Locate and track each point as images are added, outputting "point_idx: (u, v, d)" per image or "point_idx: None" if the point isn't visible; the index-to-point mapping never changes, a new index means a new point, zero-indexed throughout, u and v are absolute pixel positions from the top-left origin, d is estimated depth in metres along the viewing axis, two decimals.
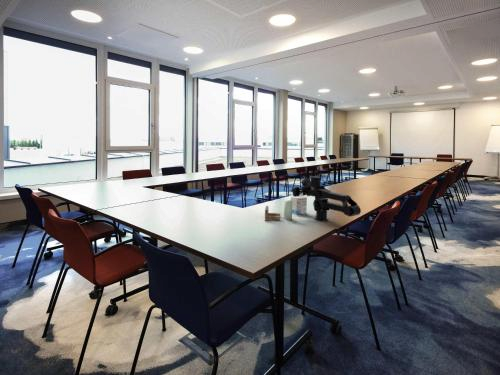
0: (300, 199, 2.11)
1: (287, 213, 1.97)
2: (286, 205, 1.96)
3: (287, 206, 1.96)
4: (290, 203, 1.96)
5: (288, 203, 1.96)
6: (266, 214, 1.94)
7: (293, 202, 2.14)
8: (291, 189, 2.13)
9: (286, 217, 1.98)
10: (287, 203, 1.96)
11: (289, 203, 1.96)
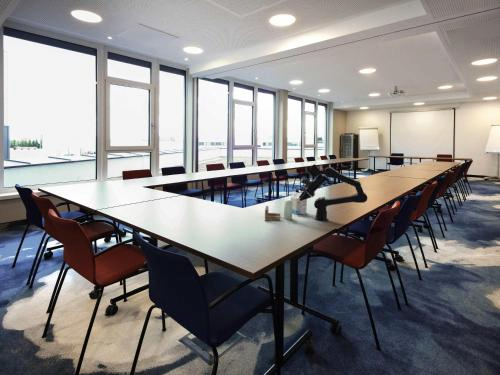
0: None
1: (287, 213, 1.97)
2: (286, 205, 1.96)
3: (287, 206, 1.96)
4: (290, 203, 1.96)
5: (288, 203, 1.96)
6: (266, 214, 1.94)
7: (293, 202, 2.14)
8: (300, 199, 1.92)
9: (286, 217, 1.98)
10: (287, 203, 1.96)
11: (289, 203, 1.96)
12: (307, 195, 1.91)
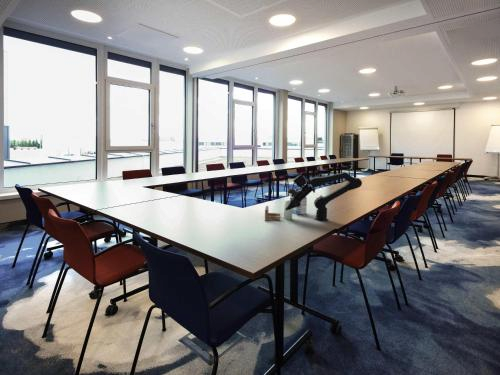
0: None
1: (287, 213, 1.97)
2: (286, 205, 1.96)
3: (287, 206, 1.96)
4: None
5: (288, 203, 1.96)
6: (266, 214, 1.94)
7: None
8: (286, 208, 1.96)
9: (286, 217, 1.98)
10: (287, 203, 1.96)
11: (289, 203, 1.96)
12: (293, 204, 1.94)
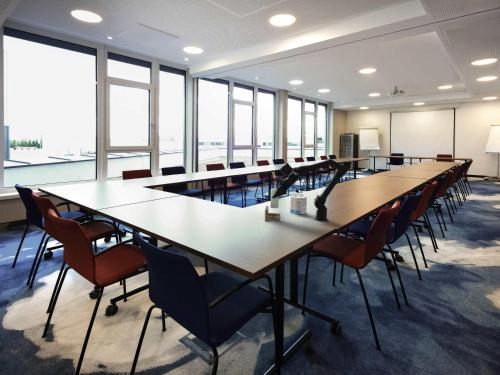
0: (300, 199, 2.11)
1: (273, 201, 1.97)
2: (272, 193, 1.96)
3: (273, 194, 1.96)
4: None
5: (274, 191, 1.96)
6: (266, 214, 1.94)
7: (293, 202, 2.14)
8: None
9: (272, 205, 1.97)
10: (273, 191, 1.96)
11: (275, 191, 1.96)
12: (279, 193, 1.94)
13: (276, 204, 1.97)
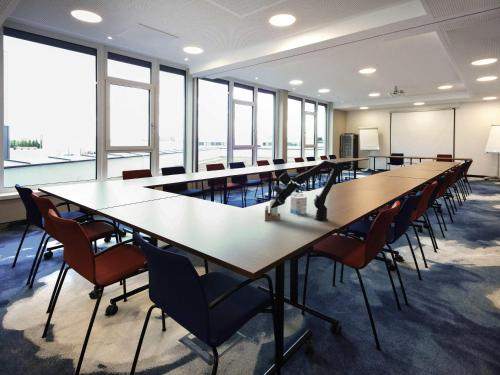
0: (300, 199, 2.11)
1: (272, 212, 1.98)
2: (271, 205, 1.97)
3: None
4: None
5: None
6: (266, 214, 1.94)
7: (293, 202, 2.14)
8: (271, 206, 1.95)
9: None
10: (272, 203, 1.97)
11: None
12: (278, 202, 1.93)
13: (275, 215, 1.98)
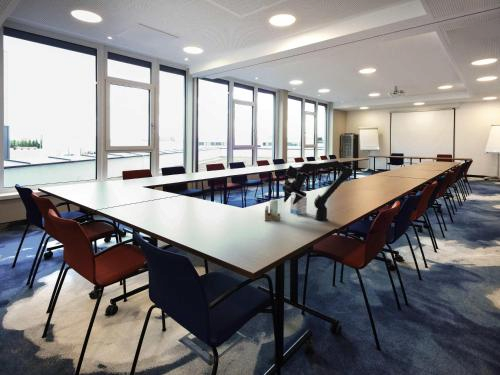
0: None
1: (272, 212, 1.98)
2: (271, 205, 1.97)
3: (272, 206, 1.97)
4: (275, 203, 1.97)
5: (273, 203, 1.97)
6: (266, 214, 1.94)
7: None
8: (284, 200, 1.96)
9: None
10: (272, 203, 1.97)
11: (274, 203, 1.97)
12: (287, 194, 1.93)
13: (275, 215, 1.98)
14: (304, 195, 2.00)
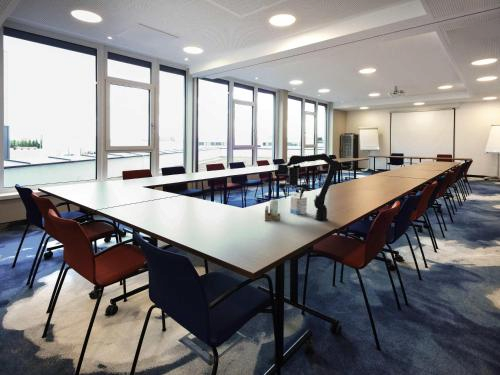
0: (300, 199, 2.11)
1: (272, 212, 1.98)
2: (271, 205, 1.97)
3: (272, 206, 1.97)
4: (275, 203, 1.97)
5: (273, 203, 1.97)
6: (266, 214, 1.94)
7: (293, 202, 2.14)
8: (285, 197, 2.00)
9: None
10: (272, 203, 1.97)
11: (274, 203, 1.97)
12: None
13: (275, 215, 1.98)
14: (304, 187, 1.94)
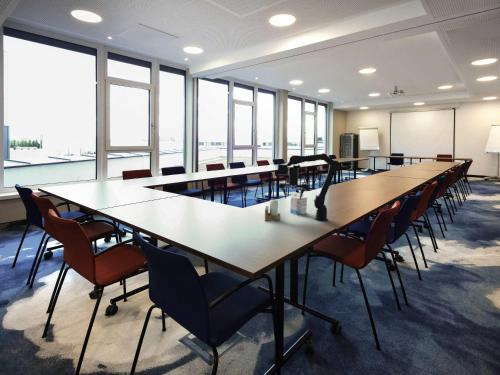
0: (300, 199, 2.11)
1: (272, 212, 1.98)
2: (271, 205, 1.97)
3: (272, 206, 1.97)
4: (275, 203, 1.97)
5: (273, 203, 1.97)
6: (266, 214, 1.94)
7: (293, 202, 2.14)
8: (285, 197, 2.00)
9: None
10: (272, 203, 1.97)
11: (274, 203, 1.97)
12: None
13: (275, 215, 1.98)
14: (304, 187, 1.94)
